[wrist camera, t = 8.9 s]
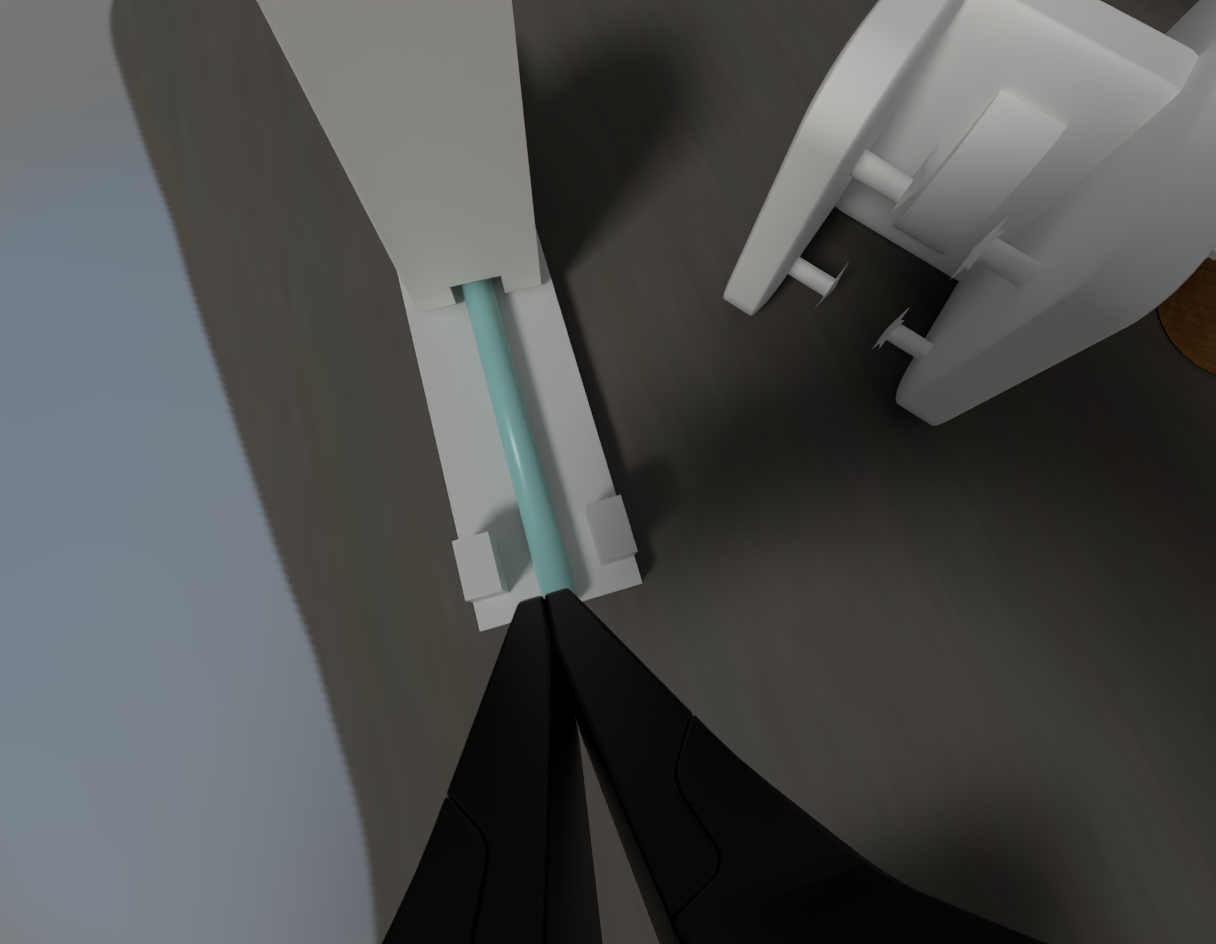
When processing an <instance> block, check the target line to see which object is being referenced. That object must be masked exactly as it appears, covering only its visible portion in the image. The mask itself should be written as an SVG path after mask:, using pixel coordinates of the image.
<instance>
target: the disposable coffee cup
mask: <svg viewBox="0 0 1216 944" xmlns="http://www.w3.org/2000/svg"><path fill="white" fill-rule="evenodd" d="M1158 312H1159V316H1160V320H1161V322H1162V324H1163V327H1164V329H1165V331H1166V333H1167V334H1168V336H1169V337H1170V339H1171V340H1172V342H1173V343H1174V345H1175V346H1176V347H1177V348H1178V349H1179V350H1180V351H1181V352H1182V353H1183V354H1184V355H1185V356H1186V357H1187V358H1188V359H1190V360H1191V361H1192V362H1193V363H1195V364H1196V365H1198V366H1199V367H1201V368H1203V369H1205V370H1207V371H1208V372H1210V373H1212V374H1215V375H1216V259H1215V260H1213V259H1211V258H1209V257H1208V258H1206V259H1205V260H1204V261H1203V262H1202V263H1201V264H1200V266H1199V267H1198V268H1197V269H1196V270H1195V271H1194V273H1193V274H1192V275H1191V276H1190V277H1189V278H1188V279H1187V280H1186V281H1185V282H1184V283H1183V284H1182V285H1181V286H1180V287H1179V288H1178V289H1177V290H1176V291H1175V292H1174V293H1172V294H1171V295H1170V296H1169V297H1168V298H1167V299H1166V300H1165V301H1163V302H1162V303H1161V304H1160V305H1158Z"/></svg>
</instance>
